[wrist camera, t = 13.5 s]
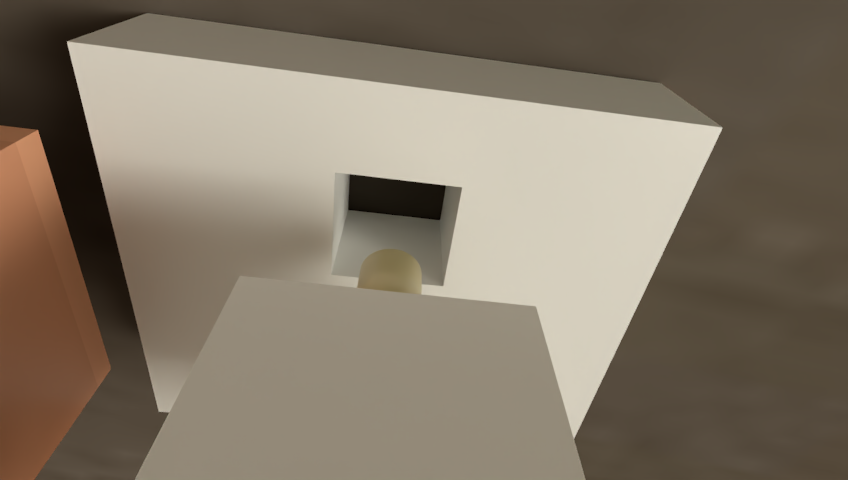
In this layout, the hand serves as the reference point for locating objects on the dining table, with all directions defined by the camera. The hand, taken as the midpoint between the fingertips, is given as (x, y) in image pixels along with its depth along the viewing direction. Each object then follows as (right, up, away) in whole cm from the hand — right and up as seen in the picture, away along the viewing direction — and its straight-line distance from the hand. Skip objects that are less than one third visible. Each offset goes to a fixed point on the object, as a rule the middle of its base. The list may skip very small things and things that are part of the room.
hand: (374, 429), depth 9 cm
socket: (0, +4, +5) cm, 7 cm away
